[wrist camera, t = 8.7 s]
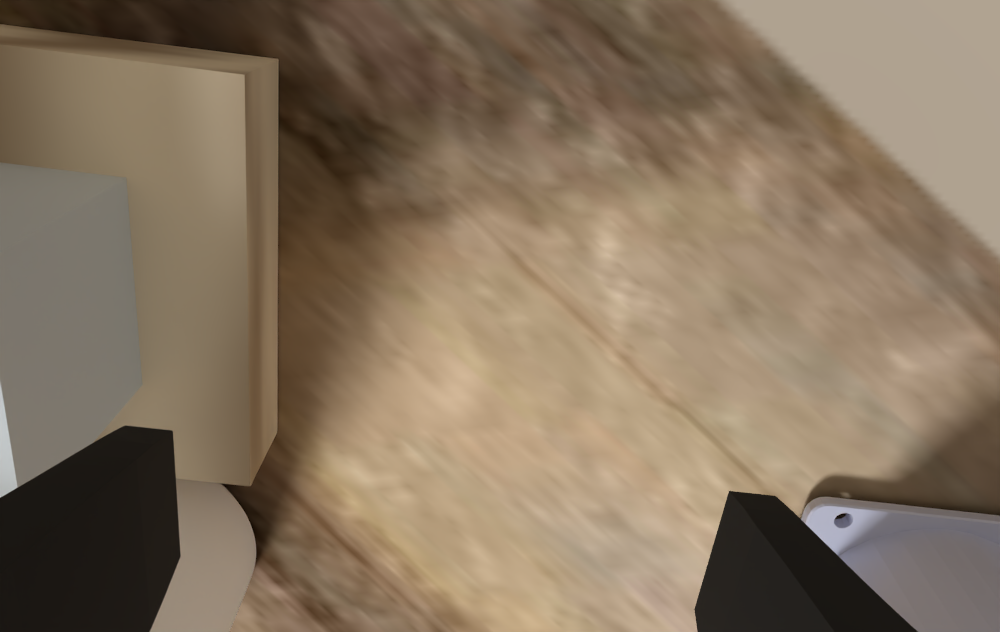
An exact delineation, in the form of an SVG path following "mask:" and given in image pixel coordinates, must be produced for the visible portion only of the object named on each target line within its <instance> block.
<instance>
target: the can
mask: <svg viewBox="0 0 1000 632" xmlns="http://www.w3.org/2000/svg"><path fill="white" fill-rule="evenodd" d="M176 489H177V505H178V521H179V538H180V554H181V557H180V559H179V562H178V564H177V567H176V569H175V572H174V574H173V577H172V579H171V582H170V584H169V587H168V590H167V592H166V595H165V597H164V599H163V602H162V604H161V607H160V609H159V611H158V614H157V616H156V618H155V621H154V623H153V625H152V628H151V630H150V632H230V629H231V627H232V624H233V622H234V620H235V617H236V615H237V612H238V610H239V607H240V605H241V602H242V600H243V597H244V595H245V592H246V590H247V587H248V585H249V582H250V579H251V577H252V574H253V570H254V567H255V562H256V542H255V537H254V533H253V530H252V527H251V524H250V522H249V520H248V517H247V516H246V514H245V512H244V510H243V509H242V507H241V506H240V504H239V503H238V502H237V500H236V499H235V498H234V496H233V495H232V494H231V493H230V492H229V490H228V489H227V488H226V487H225V486H224V485H223V484H222V483H213V482H203V481H194V480H185V479H176Z"/></svg>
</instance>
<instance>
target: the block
mask: <svg viewBox="0 0 1000 632" xmlns="http://www.w3.org/2000/svg"><path fill="white" fill-rule="evenodd" d="M141 386H142V373H141V360H140V347H139V334H138V321H137V309H136V296H135V283H134V270H133V257H132V244H131V231H130V218H129V205H128V192H127V180H126V177H117V176H109V175H101V174H92V173H84V172H76V171H67V170H59V169H51V168H42V167H34V166H26V165H17V164H9V163H1V162H0V498H1V497H2V496H4V495H6V494H7V493H9V492H11V491H13V490H14V489H16V488H18V487H19V486H21V485H23V484H24V483H26V482H28V481H30V480H31V479H33V478H35V477H36V476H38V475H40V474H42V473H43V472H45V471H47V470H48V469H50V468H52V467H53V466H55V465H57V464H58V463H60V462H62V461H63V460H65V459H67V458H68V457H70V456H72V455H73V454H75V453H77V452H78V451H80V450H82V449H83V448H85V447H87V446H88V445H90V444H92V443H93V442H94V441H95V440H96V439H97V437H98V436H99V435H100V434H101V433H102V432H103V430H104V429H105V428H106V427H107V426H108V425H109V423H110V422H111V421H112V420H113V419H114V418H115V416H116V415H117V414H118V413H119V412H120V411H121V409H122V408H123V407H124V406H125V405H126V403H127V402H128V401H129V400H130V399H131V398H132V396H133V395H134V394H135V393H136V392H137V391H138V389H139V388H140V387H141Z"/></svg>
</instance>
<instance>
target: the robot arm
mask: <svg viewBox="0 0 1000 632" xmlns="http://www.w3.org/2000/svg"><path fill="white" fill-rule="evenodd" d="M842 513H847V514H846V515H845V517H843V518H841V519H835V518H836V516H838V515H840V514H842ZM180 557H181V554H180V538H179V521H178V505H177V489H176V473H175V457H174V441H173V431H172V430H163V429H154V428H145V427H136V426H126V425H125V426H123V427H121V428H119V429H117V430H115V431H113V432H111V433H109V434H108V435H106V436H104V437H102V438H100V439H99V440H97V441H95V442H94V443H92V444H90V445H88V446H87V447H85V448H83V449H82V450H80V451H78V452H77V453H75V454H73V455H72V456H70V457H68V458H67V459H65V460H63V461H62V462H60V463H58V464H57V465H55V466H53V467H52V468H50V469H48V470H47V471H45V472H43V473H42V474H40V475H38V476H36V477H35V478H33V479H31V480H30V481H28V482H26V483H24V484H23V485H21V486H19V487H18V488H16V489H14V490H13V491H11V492H9V493H7V494H6V495H4V496H2V497H1V498H0V632H150V630H151V628H152V625H153V623H154V621H155V618H156V616H157V614H158V611H159V609H160V607H161V604H162V602H163V599H164V597H165V595H166V592H167V590H168V587H169V584H170V582H171V579H172V577H173V574H174V572H175V569H176V567H177V564H178V562H179V559H180ZM695 616H696V623H697V630H698V632H1000V515H990V514H981V513H972V512H963V511H954V510H944V509H935V508H926V507H917V506H908V505H899V504H889V503H880V502H871V501H862V500H853V499H844V498H834V497H819V498H816V499H813V500H812V501H811V502H809V503H808V504H807V506H806V507H805V509H804V512H803V515H802V518H801V519H800V518H799V517H798V516H797V515H796V514H795V513H794V512H793V511H791V510H790V509H789V508H788V507H787V506H786V505H785V504H784V503H783V502H782V501H780V500H779V499H778V498H777V497H776V496H770V495H761V494H752V493H742V492H733V491H729V494H728V497H727V500H726V504H725V507H724V511H723V514H722V518H721V521H720V524H719V528H718V531H717V535H716V538H715V541H714V545H713V548H712V552H711V555H710V559H709V562H708V565H707V569H706V572H705V576H704V579H703V582H702V586H701V589H700V593H699V596H698V599H697V603H696V606H695Z"/></svg>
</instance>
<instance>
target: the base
mask: <svg viewBox="0 0 1000 632" xmlns="http://www.w3.org/2000/svg"><path fill="white" fill-rule="evenodd" d="M278 81H279V59H275V58H267V57H259V56H251V55H243V54H235V53H227V52H219V51H211V50H203V49H195V48H187V47H179V46H171V45H163V44H155V43H147V42H139V41H131V40H123V39H115V38H107V37H99V36H91V35H83V34H75V33H67V32H59V31H51V30H43V29H35V28H27V27H19V26H11V25H3V24H0V162H1V163H9V164H17V165H26V166H34V167H42V168H51V169H59V170H67V171H76V172H84V173H92V174H101V175H109V176H117V177H126V180H127V192H128V205H129V218H130V231H131V244H132V257H133V270H134V283H135V296H136V309H137V321H138V334H139V347H140V360H141V373H142V386H141V387H140V388H139V389H138V391H137V392H136V393H135V394H134V395H133V396H132V398H131V399H130V400H129V401H128V402H127V403H126V405H125V406H124V407H123V408H122V409H121V411H120V412H119V413H118V414H117V415H116V416H115V418H114V419H113V420H112V421H111V422H110V423H109V425H108V426H107V427H106V428H105V429H104V430H103V432H102V433H101V434H100V435H99V436H98V437H97V439H96V440H95V441H97V440H99V439H100V438H102V437H104V436H106V435H108V434H109V433H111V432H113V431H115V430H117V429H119V428H121V427H123V426H125V425H126V426H136V427H145V428H154V429H163V430H172V431H173V441H174V457H175V473H176V479H185V480H194V481H203V482H213V483H222V484H232V485H241V486H251V484H252V482H253V480H254V478H255V476H256V474H257V472H258V470H259V468H260V466H261V464H262V462H263V460H264V458H265V456H266V454H267V452H268V450H269V448H270V446H271V444H272V442H273V440H274V438H275V436H276V434H277V432H278ZM95 441H94V442H95ZM94 442H93V443H94Z"/></svg>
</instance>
